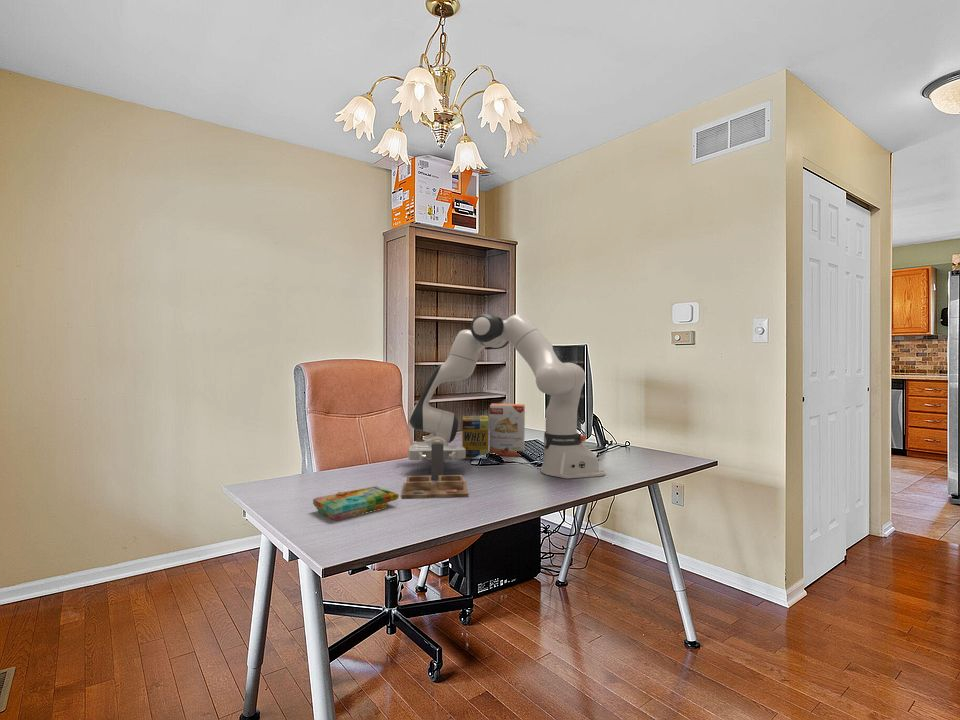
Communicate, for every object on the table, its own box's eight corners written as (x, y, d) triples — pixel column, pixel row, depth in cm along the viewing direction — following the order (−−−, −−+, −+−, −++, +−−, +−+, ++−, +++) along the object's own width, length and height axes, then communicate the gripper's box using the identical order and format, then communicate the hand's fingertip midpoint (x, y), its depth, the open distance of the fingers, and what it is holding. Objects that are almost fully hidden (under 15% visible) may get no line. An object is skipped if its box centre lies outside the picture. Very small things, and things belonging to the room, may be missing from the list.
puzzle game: (313, 496, 147) (376, 482, 160) (313, 513, 147) (376, 498, 161) (333, 506, 138) (398, 491, 152) (333, 524, 138) (398, 507, 152)
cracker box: (489, 455, 218) (489, 404, 217) (491, 452, 224) (491, 402, 223) (523, 457, 216) (523, 405, 215) (524, 454, 222) (525, 403, 221)
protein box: (462, 459, 211) (462, 420, 210) (463, 451, 226) (463, 415, 226) (488, 459, 211) (488, 420, 210) (487, 451, 226) (487, 415, 226)
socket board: (465, 484, 175) (465, 473, 175) (468, 496, 161) (468, 485, 161) (403, 485, 173) (403, 474, 173) (401, 498, 159) (401, 486, 159)
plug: (443, 476, 185) (443, 439, 185) (443, 479, 182) (443, 441, 181) (431, 476, 185) (431, 439, 185) (431, 479, 181) (431, 441, 181)
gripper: (465, 457, 197) (467, 466, 184) (409, 458, 196) (407, 467, 182) (465, 440, 197) (467, 448, 183) (409, 441, 195) (407, 449, 182)
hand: (437, 457), depth 183 cm, fingers open, 8 cm apart
